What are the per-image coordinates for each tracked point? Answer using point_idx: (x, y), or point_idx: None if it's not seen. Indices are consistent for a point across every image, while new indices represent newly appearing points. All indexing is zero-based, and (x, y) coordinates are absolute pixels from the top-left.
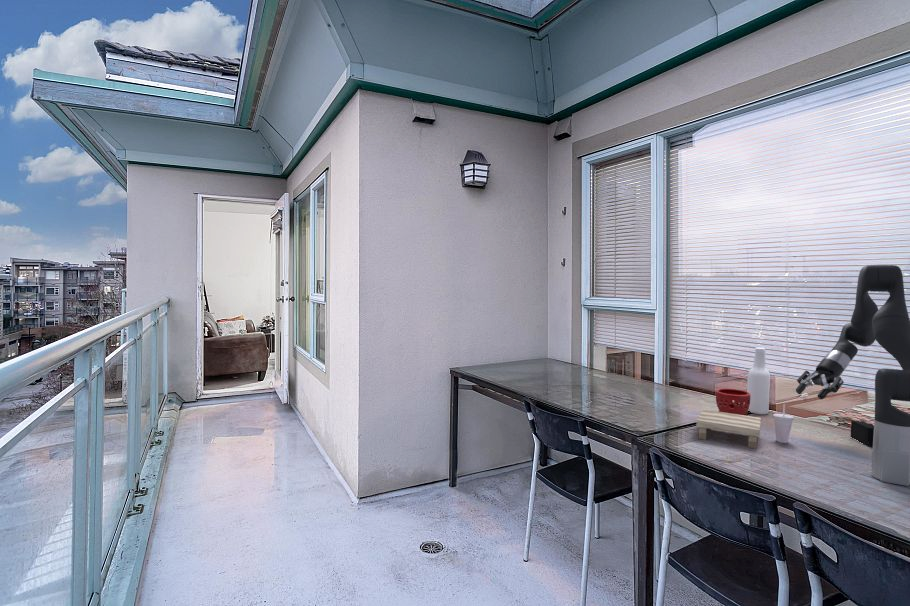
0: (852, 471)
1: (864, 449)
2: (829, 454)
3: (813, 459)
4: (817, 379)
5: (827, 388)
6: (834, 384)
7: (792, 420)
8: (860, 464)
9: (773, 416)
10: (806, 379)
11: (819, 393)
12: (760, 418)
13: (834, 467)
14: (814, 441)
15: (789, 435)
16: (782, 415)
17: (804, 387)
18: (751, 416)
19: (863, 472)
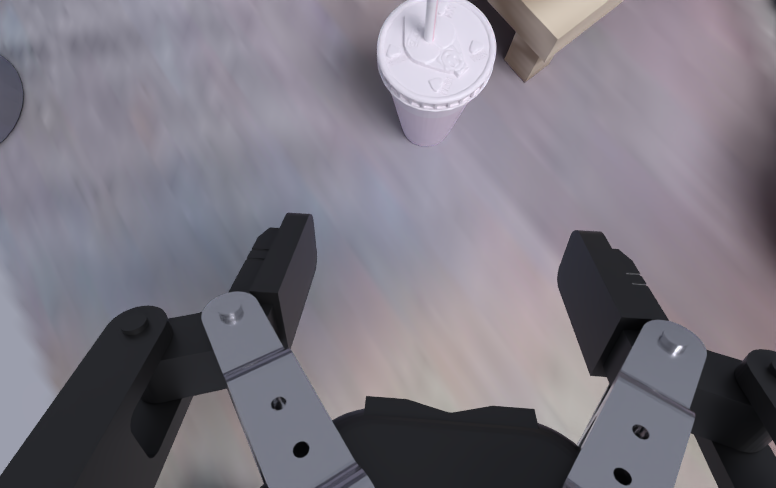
0: (70, 46)
1: (223, 418)
2: (228, 160)
3: (207, 28)
4: (466, 458)
5: (214, 310)
6: (86, 382)
7: (388, 82)
8: (104, 161)
9: (471, 11)
10: (655, 391)
11: (295, 230)
12: (545, 21)
13: (120, 21)
14: (385, 290)
15: (401, 122)
16: (434, 34)
17: (595, 352)
18: (597, 7)
19: (48, 76)
